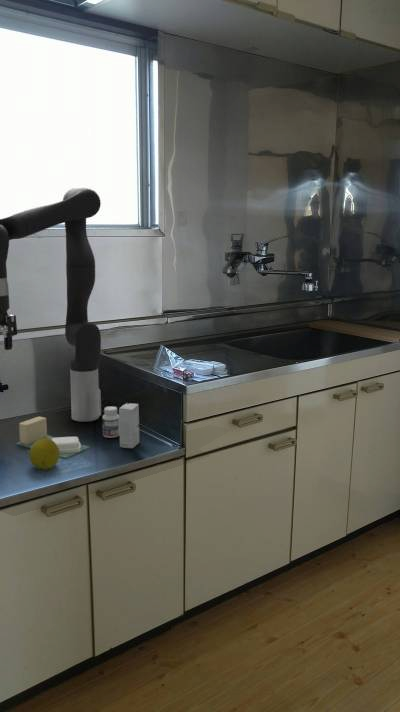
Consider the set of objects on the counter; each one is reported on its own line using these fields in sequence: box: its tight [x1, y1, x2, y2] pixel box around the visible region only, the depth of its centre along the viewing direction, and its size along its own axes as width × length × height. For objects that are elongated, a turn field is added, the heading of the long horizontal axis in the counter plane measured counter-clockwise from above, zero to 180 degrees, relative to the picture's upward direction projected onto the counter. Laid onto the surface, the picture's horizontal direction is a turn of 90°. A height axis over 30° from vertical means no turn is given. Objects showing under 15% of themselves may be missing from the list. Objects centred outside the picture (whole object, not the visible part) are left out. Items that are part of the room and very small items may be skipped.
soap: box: [51, 436, 82, 453], centre depth 174 cm, size 9×7×3 cm
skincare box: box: [118, 402, 140, 449], centre depth 178 cm, size 6×4×12 cm
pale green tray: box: [15, 415, 91, 460], centre depth 176 cm, size 10×20×6 cm, turn 58°
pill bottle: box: [101, 406, 120, 439], centre depth 186 cm, size 5×5×9 cm
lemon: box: [29, 438, 60, 471], centre depth 161 cm, size 11×8×8 cm
